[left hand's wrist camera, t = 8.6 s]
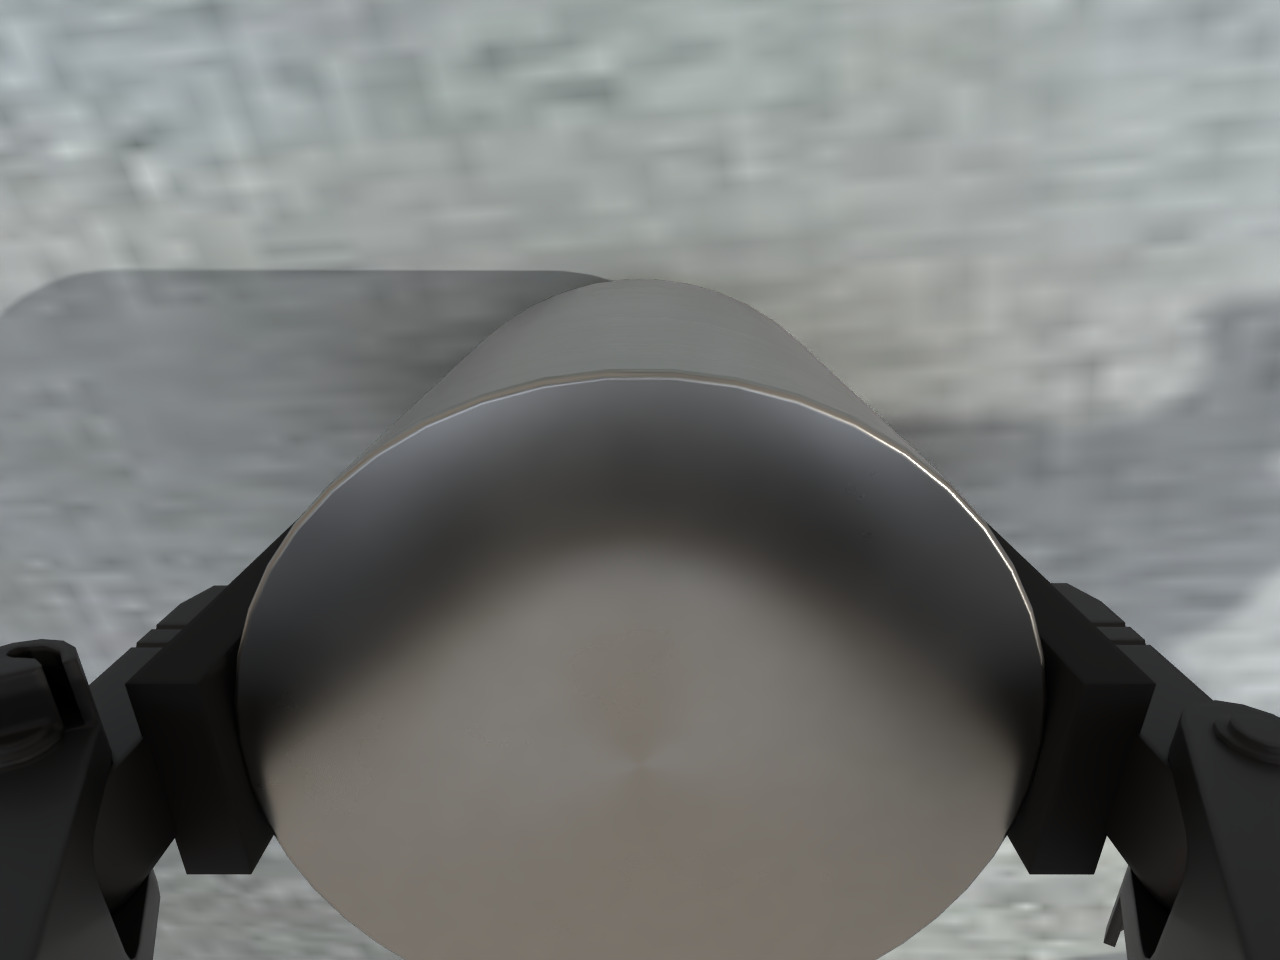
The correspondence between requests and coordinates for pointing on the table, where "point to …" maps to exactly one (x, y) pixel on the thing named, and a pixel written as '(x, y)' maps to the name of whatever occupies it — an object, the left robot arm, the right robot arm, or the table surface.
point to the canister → (640, 656)
